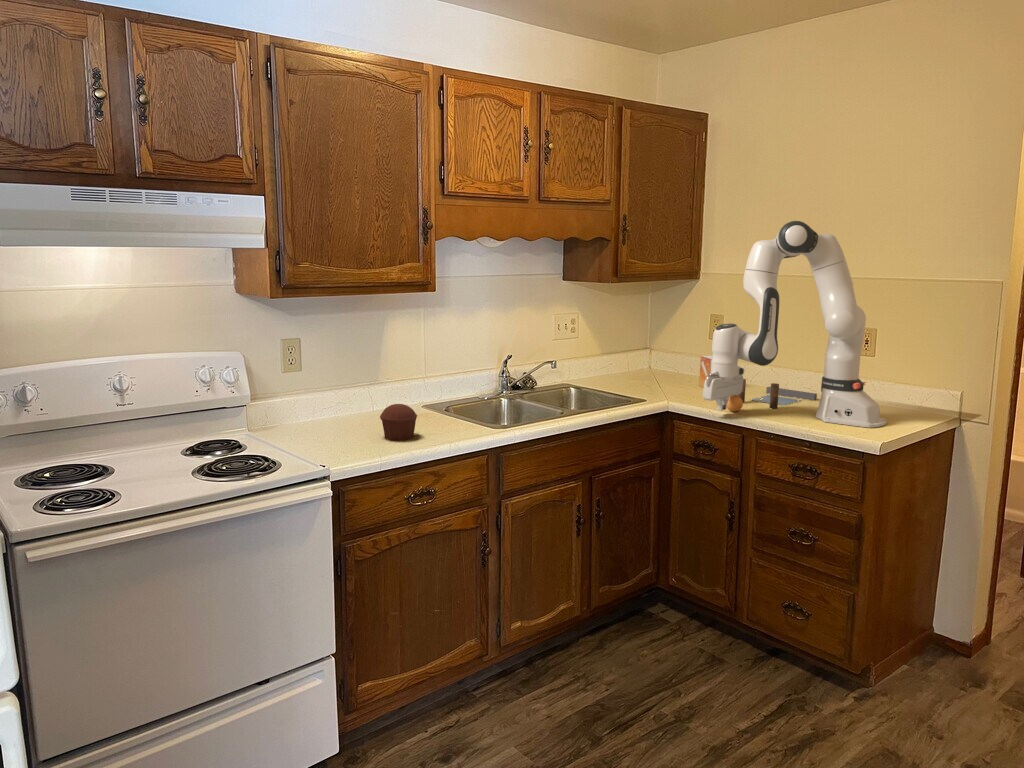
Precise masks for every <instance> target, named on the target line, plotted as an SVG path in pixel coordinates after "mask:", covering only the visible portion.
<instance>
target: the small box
mask: <svg viewBox="0 0 1024 768" xmlns="http://www.w3.org/2000/svg"><path fill="white" fill-rule="evenodd" d="M712 357H713V355H700V365H699V366H700V367H699V380H698V381H699V383H698V384H699V385H698V387H701V388H704V383H705V380H706V378H707V377H708V376H709V374H710V373H711V360H712Z"/></svg>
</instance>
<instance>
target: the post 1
mask: <svg viewBox="0 0 1024 768" xmlns="http://www.w3.org/2000/svg"><path fill="white" fill-rule="evenodd" d="M746 382H747V379H746V378H743V389H742V392H741V394H738V396H739V397H741V399H742V401H743V404H745V401H746V399H745V398H746Z"/></svg>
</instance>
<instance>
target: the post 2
mask: <svg viewBox="0 0 1024 768" xmlns="http://www.w3.org/2000/svg"><path fill="white" fill-rule="evenodd" d="M770 387H771V392H770V394H769V395H770V403H769V407H768V408H769V409H770V408H772V409H771V410H777V409H778V406H779V405H778V397H779V395H778V394H779V388H780V384H779V383H777V382H776V383H775V382H774V383H770Z"/></svg>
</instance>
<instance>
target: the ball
mask: <svg viewBox="0 0 1024 768" xmlns="http://www.w3.org/2000/svg"><path fill="white" fill-rule="evenodd" d="M743 405H744V403H743V401H742V399H741V397H739V396H738V395H734V396H730V397H729V401H728V403H727V406H726V410H728V411H730V412H733V413H735V412H738V411H740V410H741V409H742V408H743Z"/></svg>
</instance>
